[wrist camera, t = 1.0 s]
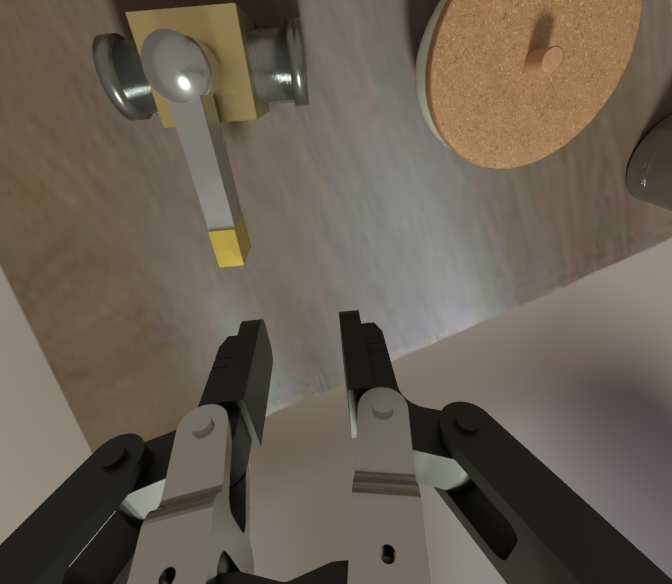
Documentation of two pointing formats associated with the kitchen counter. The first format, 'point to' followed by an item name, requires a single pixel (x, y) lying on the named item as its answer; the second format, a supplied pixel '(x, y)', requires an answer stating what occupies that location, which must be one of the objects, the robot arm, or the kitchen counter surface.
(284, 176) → the kitchen counter surface
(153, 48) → the lever
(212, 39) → the ball valve
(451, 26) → the lidded bowl
